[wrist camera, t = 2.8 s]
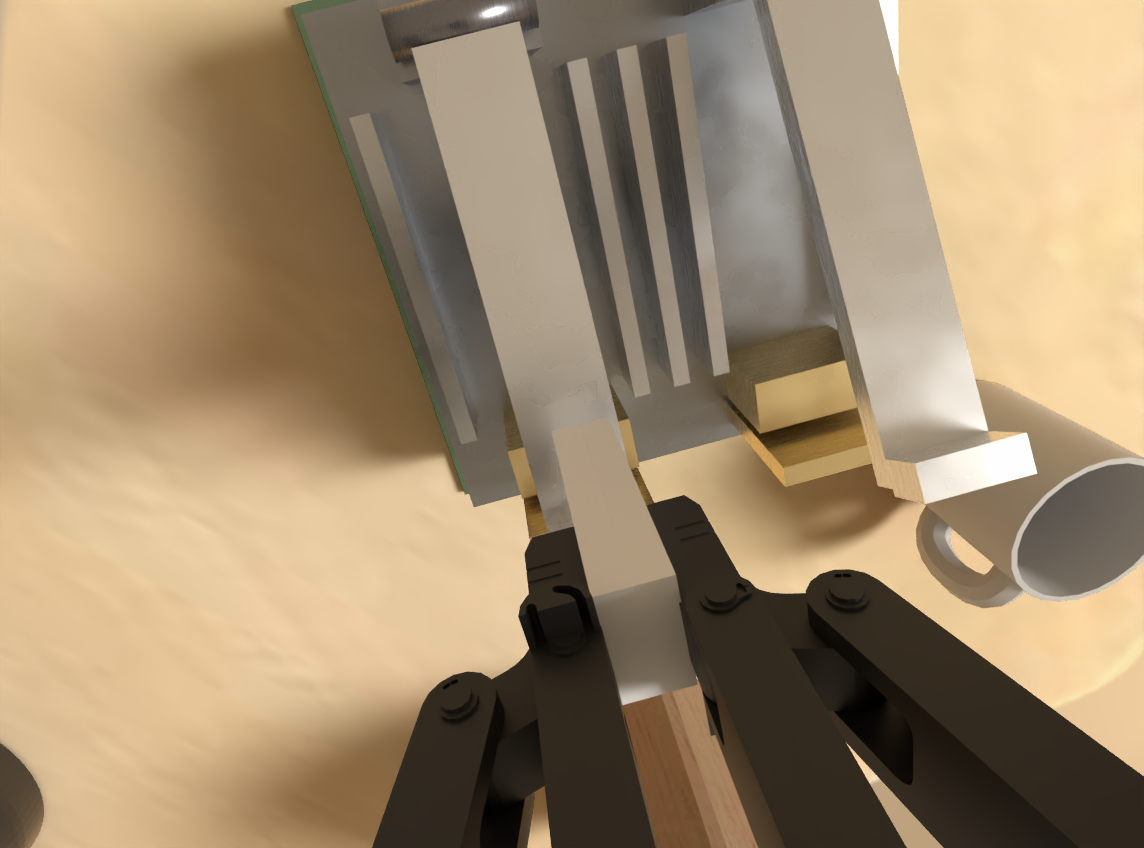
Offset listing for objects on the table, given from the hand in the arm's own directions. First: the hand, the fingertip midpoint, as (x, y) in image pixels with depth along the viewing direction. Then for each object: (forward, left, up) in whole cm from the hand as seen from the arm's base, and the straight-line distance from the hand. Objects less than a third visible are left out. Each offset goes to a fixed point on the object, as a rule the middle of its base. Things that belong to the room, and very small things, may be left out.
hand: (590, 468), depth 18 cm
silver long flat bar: (+9, +4, -2) cm, 10 cm away
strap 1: (0, +4, -4) cm, 5 cm away
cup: (+19, -13, -14) cm, 27 cm away
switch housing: (+4, +4, -14) cm, 15 cm away
